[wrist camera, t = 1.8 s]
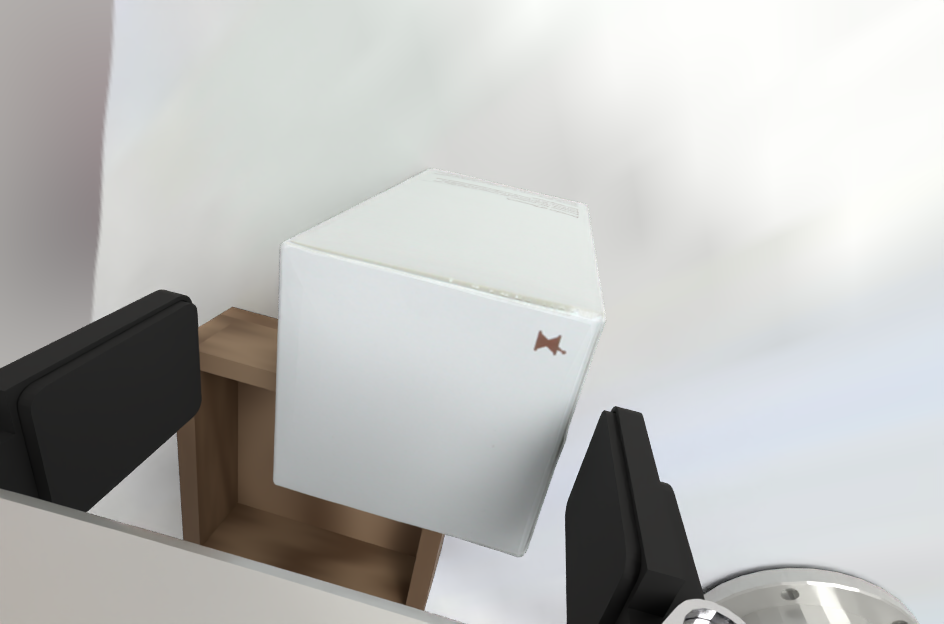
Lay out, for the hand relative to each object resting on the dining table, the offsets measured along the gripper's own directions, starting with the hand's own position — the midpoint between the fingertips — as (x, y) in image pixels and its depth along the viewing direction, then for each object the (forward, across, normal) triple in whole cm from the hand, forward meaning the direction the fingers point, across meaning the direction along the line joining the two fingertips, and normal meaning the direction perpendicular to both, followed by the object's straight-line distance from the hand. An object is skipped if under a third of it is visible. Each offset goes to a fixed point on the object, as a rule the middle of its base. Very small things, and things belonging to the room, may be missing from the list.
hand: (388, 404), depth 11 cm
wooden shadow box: (+13, +5, +14) cm, 19 cm away
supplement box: (+13, -1, +1) cm, 13 cm away
